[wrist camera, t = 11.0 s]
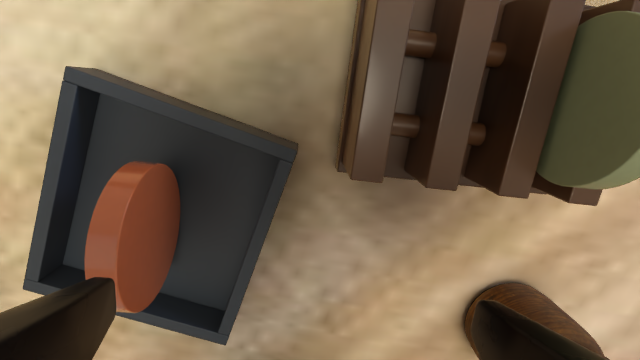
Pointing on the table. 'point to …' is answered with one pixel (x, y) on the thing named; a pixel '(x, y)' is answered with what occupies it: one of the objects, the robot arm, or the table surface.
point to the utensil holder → (534, 313)
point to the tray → (194, 188)
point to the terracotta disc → (135, 233)
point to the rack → (459, 92)
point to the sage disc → (597, 108)
